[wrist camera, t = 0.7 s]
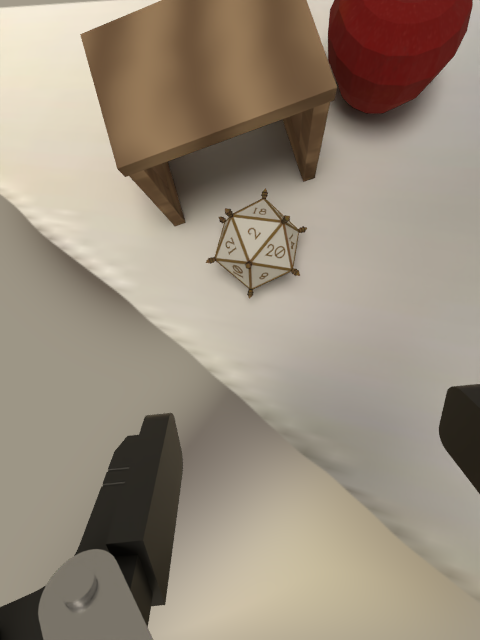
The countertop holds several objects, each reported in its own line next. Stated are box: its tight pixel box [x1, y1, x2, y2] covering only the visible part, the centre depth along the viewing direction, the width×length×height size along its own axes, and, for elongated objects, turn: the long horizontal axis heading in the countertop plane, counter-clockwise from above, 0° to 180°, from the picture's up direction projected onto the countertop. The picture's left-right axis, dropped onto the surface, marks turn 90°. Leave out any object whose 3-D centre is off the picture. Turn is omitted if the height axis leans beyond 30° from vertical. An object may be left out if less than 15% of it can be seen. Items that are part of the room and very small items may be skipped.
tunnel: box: [80, 0, 337, 226], centre depth 30 cm, size 16×11×12 cm
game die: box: [206, 188, 307, 299], centre depth 31 cm, size 9×8×10 cm
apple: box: [328, 0, 472, 113], centre depth 28 cm, size 11×11×12 cm
